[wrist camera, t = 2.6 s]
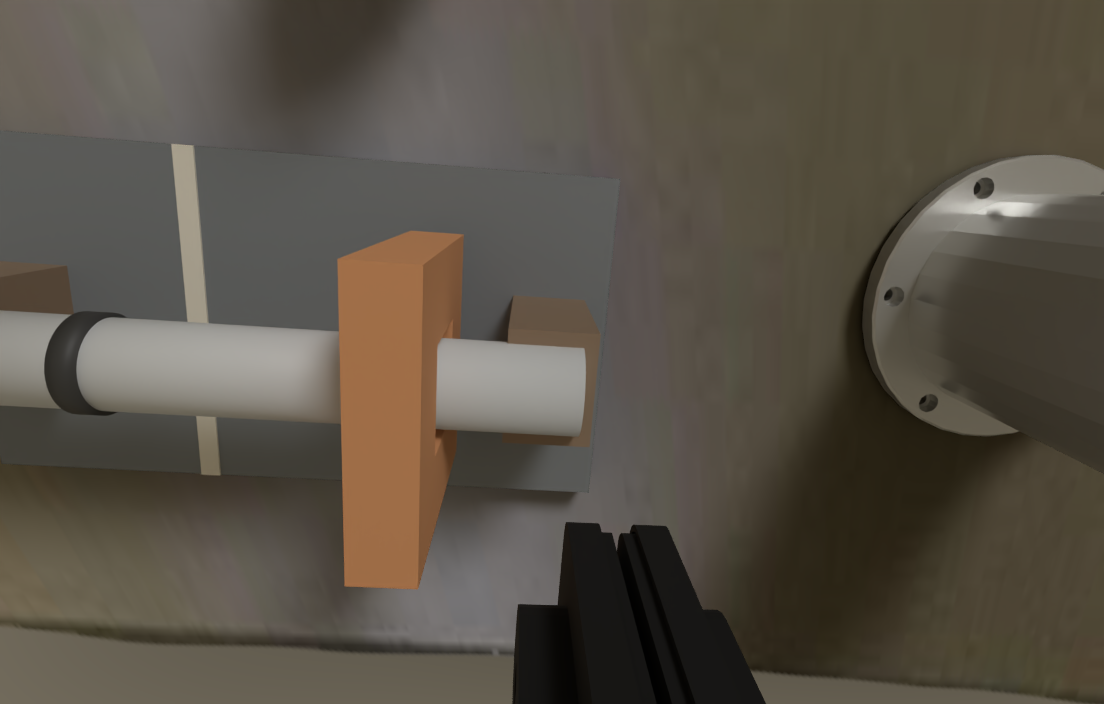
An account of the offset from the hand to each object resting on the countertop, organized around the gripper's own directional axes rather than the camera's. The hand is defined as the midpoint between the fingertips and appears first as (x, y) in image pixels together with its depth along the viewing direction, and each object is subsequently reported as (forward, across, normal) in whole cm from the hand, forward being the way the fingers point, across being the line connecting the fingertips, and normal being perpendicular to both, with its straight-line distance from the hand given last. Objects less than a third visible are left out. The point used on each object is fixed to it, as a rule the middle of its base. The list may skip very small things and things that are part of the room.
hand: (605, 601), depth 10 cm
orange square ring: (+15, +5, 0) cm, 16 cm away
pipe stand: (+18, +11, 0) cm, 21 cm away
